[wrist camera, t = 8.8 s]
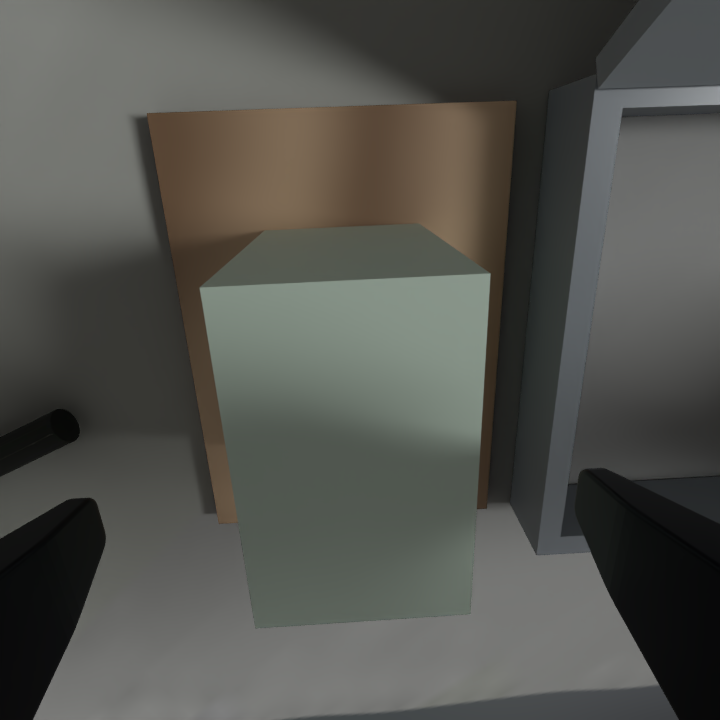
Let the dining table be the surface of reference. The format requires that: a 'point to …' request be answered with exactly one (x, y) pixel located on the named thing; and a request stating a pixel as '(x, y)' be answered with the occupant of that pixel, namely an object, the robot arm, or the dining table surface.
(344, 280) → the block
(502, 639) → the dining table surface
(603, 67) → the equipment case
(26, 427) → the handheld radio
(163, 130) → the board
